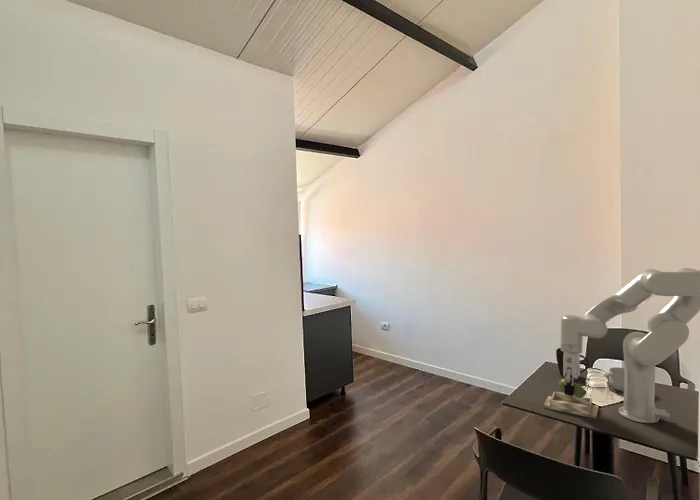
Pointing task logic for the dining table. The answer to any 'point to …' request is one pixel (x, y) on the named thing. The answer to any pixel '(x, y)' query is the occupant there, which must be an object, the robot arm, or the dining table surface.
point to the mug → (560, 361)
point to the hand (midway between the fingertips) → (570, 391)
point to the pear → (578, 389)
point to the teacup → (616, 378)
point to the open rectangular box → (571, 404)
